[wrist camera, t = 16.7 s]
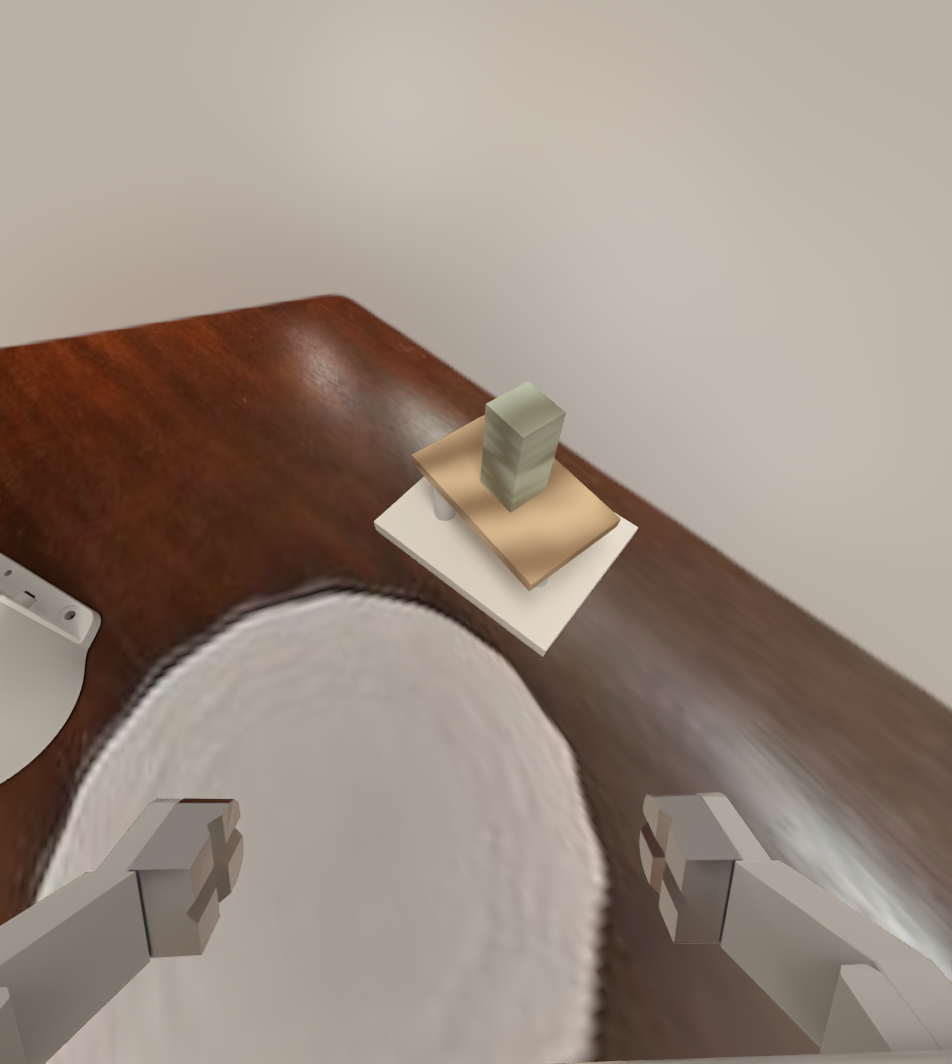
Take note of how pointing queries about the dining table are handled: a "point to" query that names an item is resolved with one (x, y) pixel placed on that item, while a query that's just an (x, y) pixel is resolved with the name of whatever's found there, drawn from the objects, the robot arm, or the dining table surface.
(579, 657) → the dining table surface
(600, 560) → the peg plate
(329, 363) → the dining table surface
